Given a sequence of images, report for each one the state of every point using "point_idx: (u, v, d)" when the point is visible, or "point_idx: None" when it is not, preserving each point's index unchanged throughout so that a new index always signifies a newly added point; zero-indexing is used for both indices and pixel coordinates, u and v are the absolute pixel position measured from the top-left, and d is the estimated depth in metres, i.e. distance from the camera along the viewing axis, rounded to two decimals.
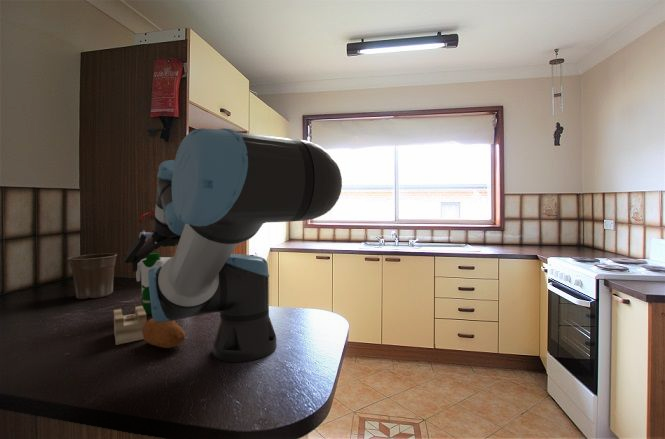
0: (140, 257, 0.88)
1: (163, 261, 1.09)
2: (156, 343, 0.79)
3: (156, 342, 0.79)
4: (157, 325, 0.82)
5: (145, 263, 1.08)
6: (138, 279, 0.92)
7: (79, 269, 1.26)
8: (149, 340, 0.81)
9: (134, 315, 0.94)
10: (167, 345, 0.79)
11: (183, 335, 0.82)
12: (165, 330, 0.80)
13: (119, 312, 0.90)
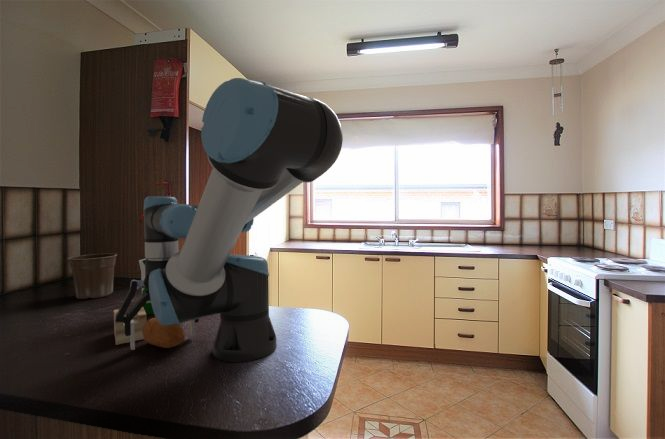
0: (133, 312, 0.79)
1: None
2: (156, 343, 0.79)
3: (156, 342, 0.79)
4: (157, 325, 0.82)
5: None
6: (132, 346, 0.79)
7: (79, 269, 1.26)
8: (149, 340, 0.81)
9: None
10: (167, 345, 0.79)
11: (183, 335, 0.82)
12: (165, 330, 0.80)
13: None
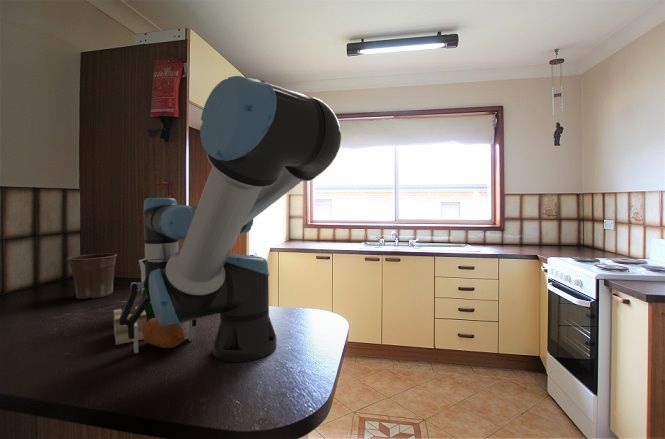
0: (135, 315, 0.79)
1: None
2: (156, 343, 0.79)
3: (156, 342, 0.79)
4: (157, 325, 0.82)
5: None
6: (136, 349, 0.79)
7: (79, 269, 1.26)
8: (149, 340, 0.81)
9: None
10: (167, 345, 0.79)
11: (183, 335, 0.82)
12: (165, 330, 0.80)
13: (119, 312, 0.90)
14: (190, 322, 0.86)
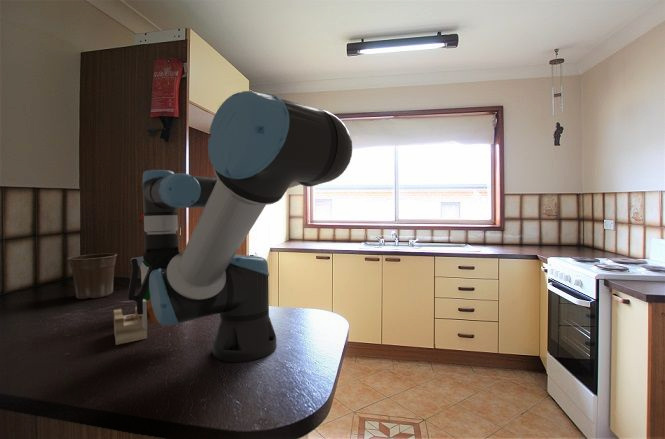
0: (142, 290, 0.79)
1: None
2: (156, 320, 0.79)
3: (156, 319, 0.79)
4: None
5: (145, 263, 1.08)
6: (145, 325, 0.79)
7: (79, 269, 1.26)
8: (149, 318, 0.81)
9: (134, 315, 0.94)
10: None
11: None
12: None
13: (119, 312, 0.90)
14: None
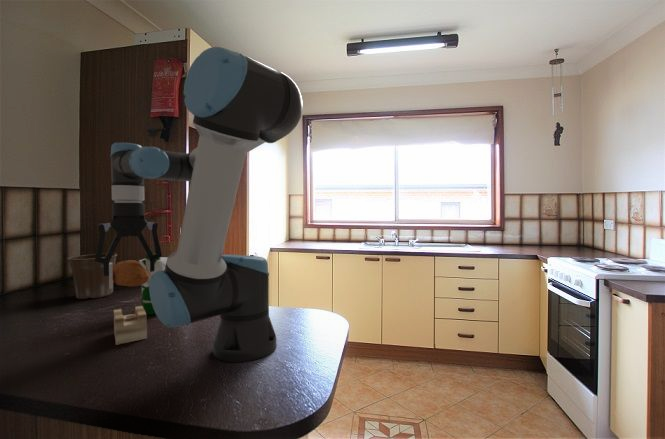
0: (108, 254, 0.86)
1: (163, 261, 1.09)
2: (121, 281, 0.86)
3: (120, 280, 0.86)
4: (122, 265, 0.88)
5: (145, 263, 1.08)
6: (111, 285, 0.86)
7: (79, 269, 1.26)
8: (115, 279, 0.88)
9: (134, 315, 0.94)
10: (131, 283, 0.85)
11: (147, 276, 0.88)
12: (129, 270, 0.86)
13: (119, 312, 0.90)
14: (148, 267, 0.91)
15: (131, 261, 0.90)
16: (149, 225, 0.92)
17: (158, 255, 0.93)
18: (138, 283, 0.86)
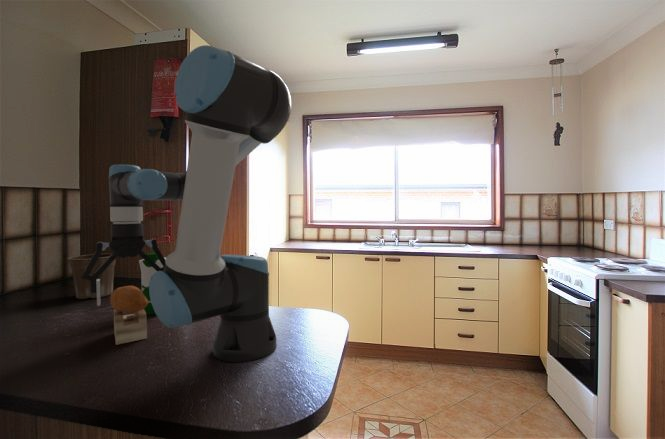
0: (98, 271, 0.85)
1: None
2: (119, 308, 0.86)
3: (119, 307, 0.86)
4: (121, 292, 0.88)
5: (145, 263, 1.08)
6: (98, 303, 0.85)
7: (79, 269, 1.26)
8: (114, 306, 0.88)
9: (134, 315, 0.94)
10: (129, 310, 0.85)
11: (145, 302, 0.88)
12: (127, 296, 0.86)
13: (119, 312, 0.90)
14: None
15: (130, 287, 0.90)
16: (148, 243, 0.92)
17: None
18: (136, 310, 0.86)
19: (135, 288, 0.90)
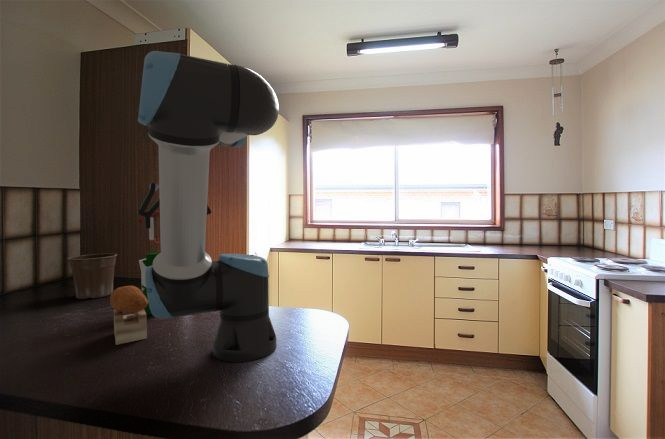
0: (152, 209, 0.95)
1: None
2: (119, 308, 0.86)
3: (119, 307, 0.86)
4: (121, 292, 0.88)
5: (145, 263, 1.08)
6: (152, 237, 0.95)
7: (79, 269, 1.26)
8: (114, 306, 0.88)
9: (134, 315, 0.94)
10: (129, 310, 0.85)
11: (145, 302, 0.88)
12: (127, 296, 0.86)
13: (119, 312, 0.90)
14: None
15: (130, 287, 0.90)
16: None
17: (208, 212, 1.05)
18: (136, 310, 0.86)
19: (135, 288, 0.90)
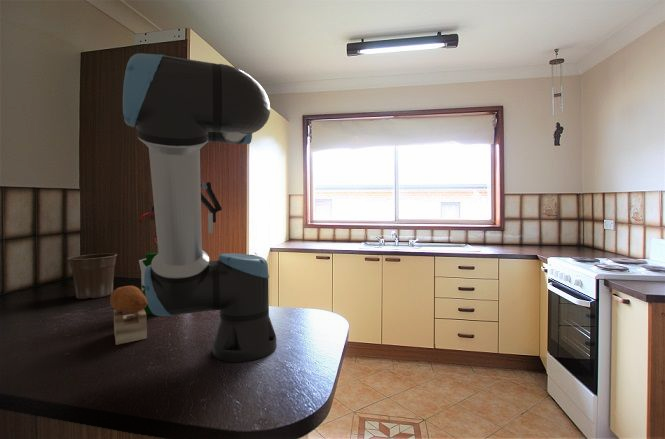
0: None
1: None
2: (119, 308, 0.86)
3: (119, 307, 0.86)
4: (121, 292, 0.88)
5: (145, 263, 1.08)
6: None
7: (79, 269, 1.26)
8: (114, 306, 0.88)
9: (134, 315, 0.94)
10: (129, 310, 0.85)
11: (145, 302, 0.88)
12: (127, 296, 0.86)
13: (119, 312, 0.90)
14: (211, 218, 1.06)
15: (130, 287, 0.90)
16: (204, 185, 1.05)
17: (219, 209, 1.07)
18: (136, 310, 0.86)
19: (135, 288, 0.90)
